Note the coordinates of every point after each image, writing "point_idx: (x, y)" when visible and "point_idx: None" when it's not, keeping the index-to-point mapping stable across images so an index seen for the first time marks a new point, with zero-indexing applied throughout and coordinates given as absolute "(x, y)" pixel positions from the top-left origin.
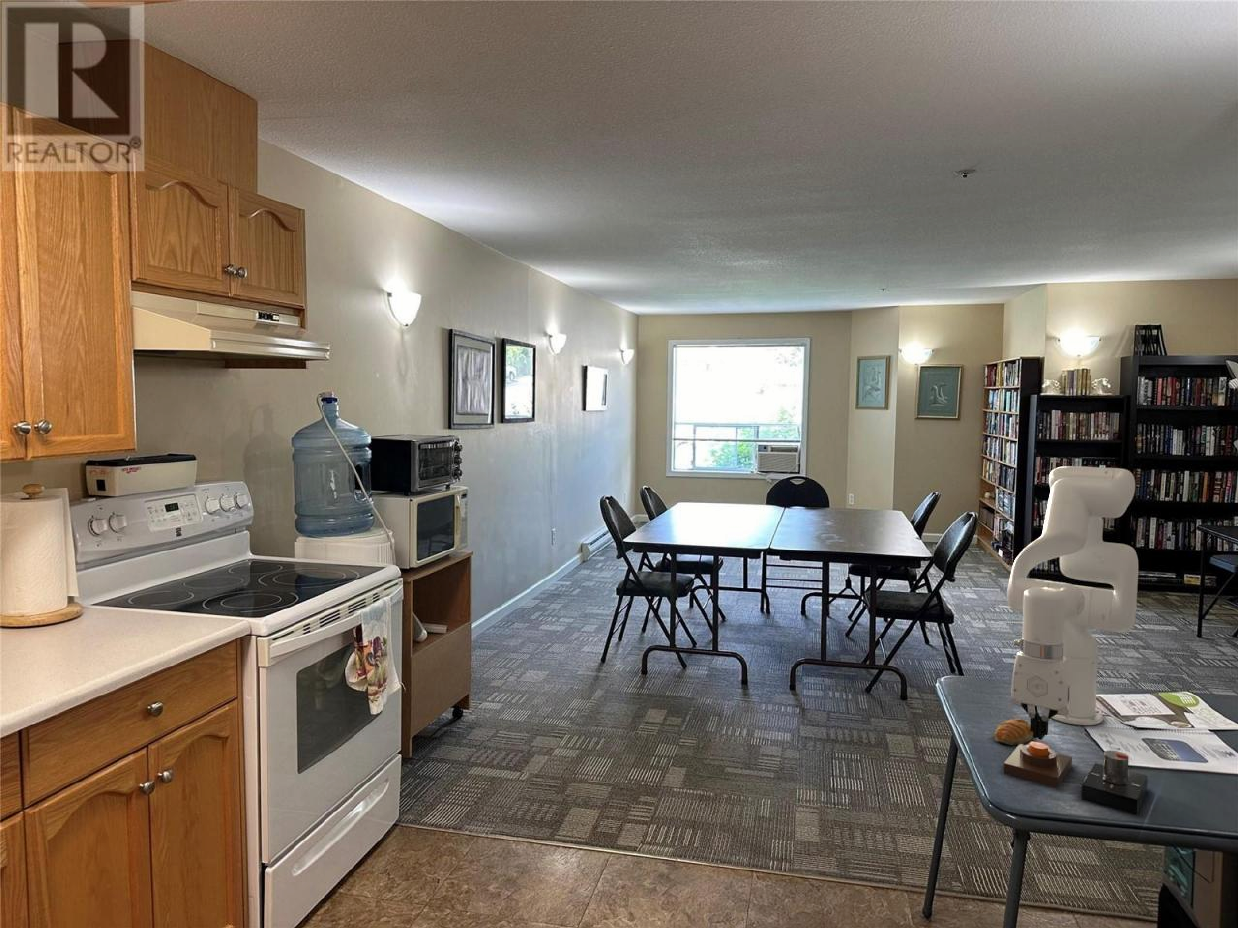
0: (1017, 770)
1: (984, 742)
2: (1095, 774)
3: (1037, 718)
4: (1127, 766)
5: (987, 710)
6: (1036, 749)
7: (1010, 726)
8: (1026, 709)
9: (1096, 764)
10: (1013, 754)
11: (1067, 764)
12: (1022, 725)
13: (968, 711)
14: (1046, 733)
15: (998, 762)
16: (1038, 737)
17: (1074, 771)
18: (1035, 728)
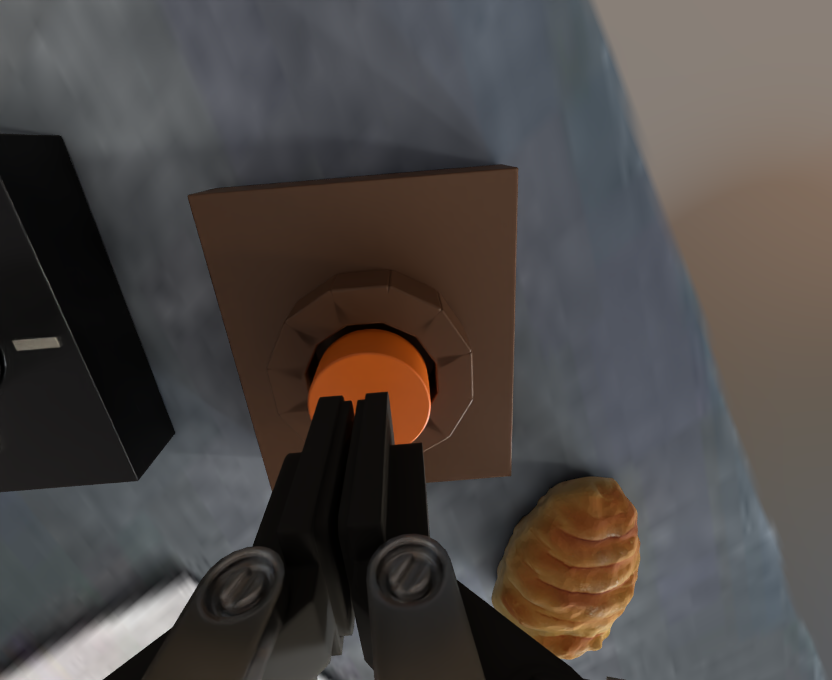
0: (429, 172)
1: (658, 447)
2: (33, 341)
3: (356, 570)
4: None
5: (686, 675)
6: (361, 346)
7: (591, 581)
8: (502, 647)
9: (120, 465)
10: (503, 336)
11: (251, 411)
12: (545, 616)
13: (750, 639)
14: (287, 465)
15: (558, 287)
16: (339, 398)
17: None
18: (361, 447)
